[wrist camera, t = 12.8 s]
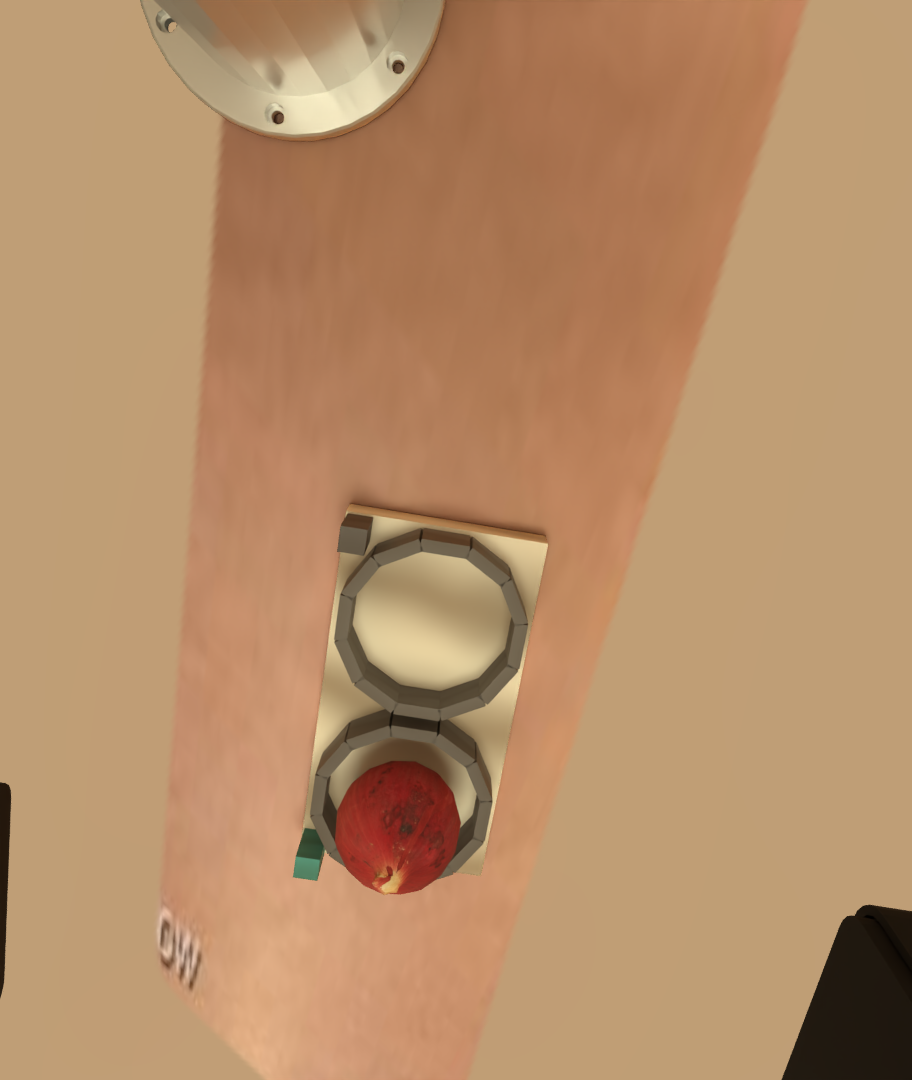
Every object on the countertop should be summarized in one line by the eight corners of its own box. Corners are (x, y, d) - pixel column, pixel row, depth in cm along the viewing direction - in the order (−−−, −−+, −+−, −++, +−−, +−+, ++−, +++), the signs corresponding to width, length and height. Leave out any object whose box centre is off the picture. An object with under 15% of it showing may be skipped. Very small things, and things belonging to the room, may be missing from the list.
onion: (377, 712, 42) (358, 802, 35) (480, 761, 43) (483, 860, 35) (328, 804, 44) (298, 910, 36) (428, 849, 44) (420, 963, 37)
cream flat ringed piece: (350, 503, 41) (338, 523, 37) (545, 535, 41) (553, 558, 38) (305, 832, 46) (290, 878, 42) (480, 858, 46) (481, 907, 42)
